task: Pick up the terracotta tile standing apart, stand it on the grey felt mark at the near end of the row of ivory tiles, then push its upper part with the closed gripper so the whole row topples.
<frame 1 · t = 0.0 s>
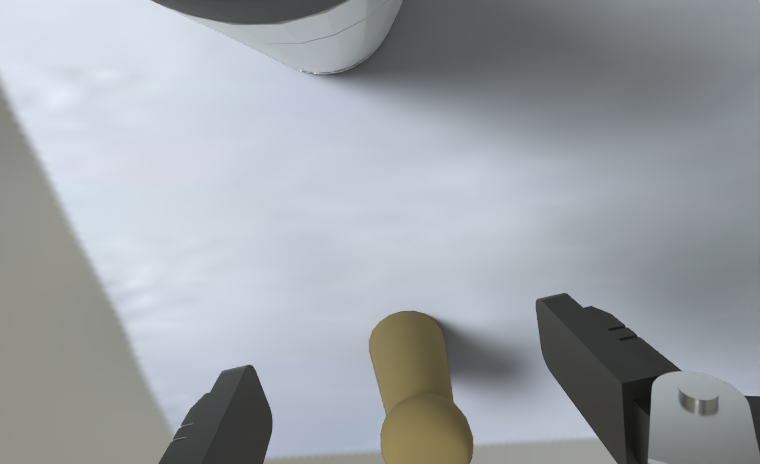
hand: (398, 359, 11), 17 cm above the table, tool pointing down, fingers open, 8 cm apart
cork: (406, 343, 31), on the table
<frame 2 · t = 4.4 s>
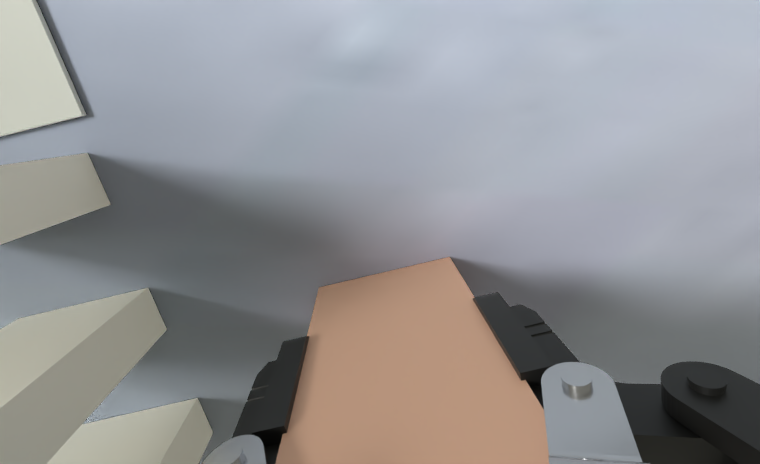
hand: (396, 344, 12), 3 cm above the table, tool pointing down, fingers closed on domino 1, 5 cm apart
domino 3: (93, 324, 15), on the table
domino 1: (389, 293, 15), on the table, touching gripper
domino 4: (147, 428, 16), on the table
domino 2: (28, 196, 13), on the table
when the fingers open (5 cm above the table, at t = 9.4 s): domino 1 stays where it is, resting on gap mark.
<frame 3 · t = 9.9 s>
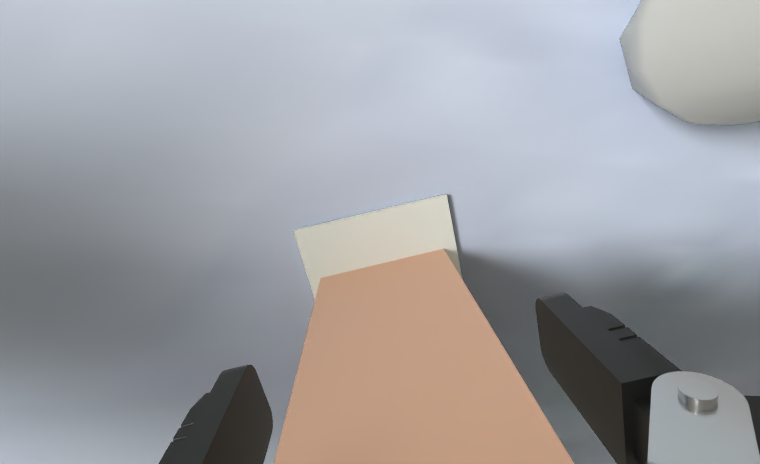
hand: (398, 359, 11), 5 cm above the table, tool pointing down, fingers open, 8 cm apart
domino 1: (386, 283, 16), resting on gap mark
salt shaker: (673, 39, 14), on the table
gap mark: (386, 281, 16), on the table
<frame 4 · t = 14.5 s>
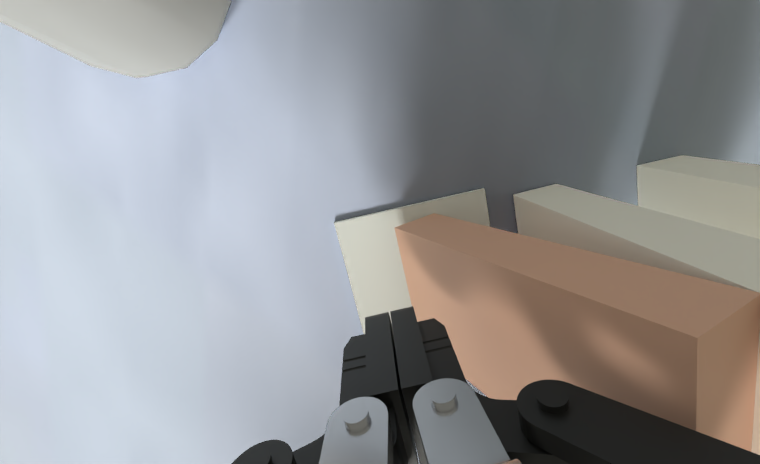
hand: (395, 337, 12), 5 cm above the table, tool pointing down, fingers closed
domino 3: (660, 220, 16), on the table
domino 1: (426, 278, 16), point 1 cm above the table, tilted 23°, touching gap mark
domino 2: (541, 247, 16), on the table
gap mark: (422, 273, 16), on the table
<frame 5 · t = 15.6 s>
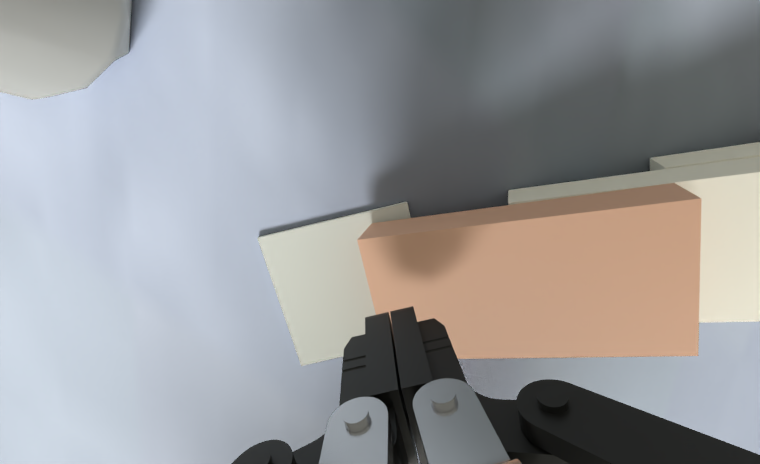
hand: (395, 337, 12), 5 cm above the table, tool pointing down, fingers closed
domino 3: (657, 226, 15), point 1 cm above the table, tilted 69°, touching domino 2, domino 4
domino 1: (379, 291, 15), point 1 cm above the table, tilted 71°, touching domino 2, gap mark
domino 2: (515, 257, 15), point 1 cm above the table, tilted 70°, touching domino 1, domino 3
salt shaker: (74, 10, 13), on the table
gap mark: (351, 286, 16), on the table
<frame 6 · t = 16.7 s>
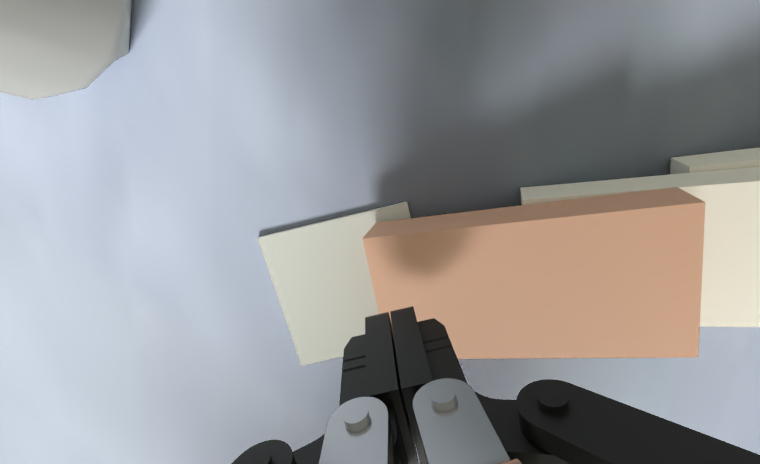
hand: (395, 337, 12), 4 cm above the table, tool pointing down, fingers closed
domino 3: (676, 225, 15), point 1 cm above the table, tilted 70°, touching domino 4
domino 1: (382, 290, 15), point 1 cm above the table, tilted 72°, touching domino 2, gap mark
domino 2: (524, 255, 15), point 1 cm above the table, tilted 71°, touching domino 1
salt shaker: (74, 10, 13), on the table
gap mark: (351, 286, 16), on the table
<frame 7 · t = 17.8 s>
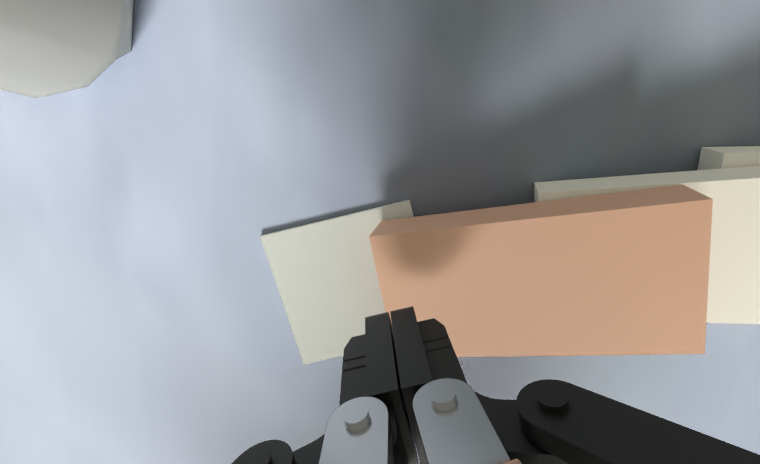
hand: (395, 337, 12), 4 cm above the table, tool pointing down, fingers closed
domino 3: (699, 215, 15), point 1 cm above the table, tilted 70°, touching domino 4
domino 1: (388, 288, 15), point 1 cm above the table, tilted 73°, touching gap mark
domino 2: (537, 250, 15), point 1 cm above the table, tilted 71°
salt shaker: (76, 8, 13), on the table
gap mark: (353, 285, 16), on the table
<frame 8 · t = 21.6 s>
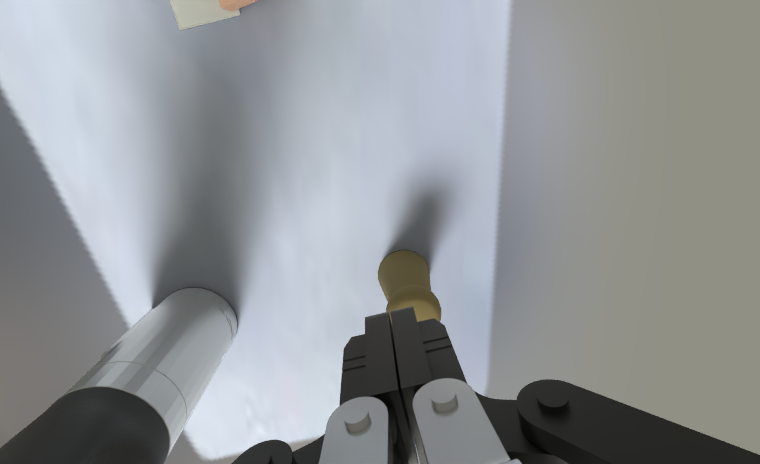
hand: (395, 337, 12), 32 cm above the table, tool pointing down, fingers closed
cork: (403, 273, 46), on the table
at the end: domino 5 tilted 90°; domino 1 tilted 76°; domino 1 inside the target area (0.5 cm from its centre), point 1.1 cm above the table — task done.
